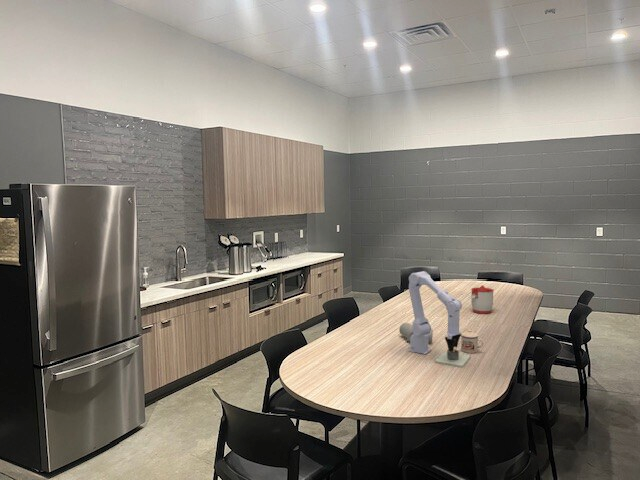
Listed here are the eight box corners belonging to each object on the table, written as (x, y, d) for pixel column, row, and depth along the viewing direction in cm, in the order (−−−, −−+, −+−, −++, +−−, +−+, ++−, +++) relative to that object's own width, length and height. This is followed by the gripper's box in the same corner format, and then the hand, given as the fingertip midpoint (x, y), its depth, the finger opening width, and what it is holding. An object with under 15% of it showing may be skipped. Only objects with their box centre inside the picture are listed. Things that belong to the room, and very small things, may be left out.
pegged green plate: (434, 362, 243) (435, 352, 243) (444, 353, 257) (444, 343, 257) (462, 367, 236) (462, 356, 236) (470, 358, 250) (470, 347, 249)
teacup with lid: (458, 351, 260) (459, 331, 259) (462, 347, 268) (463, 327, 267) (481, 355, 254) (482, 334, 253) (484, 350, 262) (485, 329, 261)
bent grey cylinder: (396, 341, 276) (431, 344, 270) (396, 323, 277) (432, 325, 271) (399, 339, 293) (433, 341, 287) (400, 322, 294) (433, 324, 288)
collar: (446, 359, 246) (446, 351, 245) (448, 356, 250) (449, 348, 250) (457, 361, 243) (457, 353, 242) (459, 357, 248) (459, 350, 247)
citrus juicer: (464, 311, 350) (464, 284, 348) (482, 308, 357) (482, 282, 355) (479, 316, 336) (480, 288, 334) (497, 313, 343) (498, 286, 341)
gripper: (457, 327, 237) (456, 354, 238) (464, 321, 249) (464, 346, 250) (443, 325, 240) (443, 351, 242) (451, 319, 253) (450, 344, 254)
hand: (452, 348), depth 246 cm, fingers open, 7 cm apart
